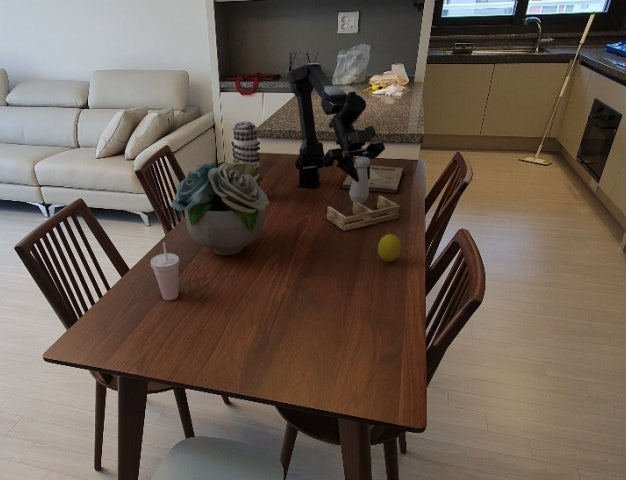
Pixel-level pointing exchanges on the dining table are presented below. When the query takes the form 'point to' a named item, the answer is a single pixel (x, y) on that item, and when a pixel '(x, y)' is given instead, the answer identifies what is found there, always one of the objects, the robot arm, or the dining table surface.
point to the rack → (364, 214)
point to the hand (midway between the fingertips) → (363, 180)
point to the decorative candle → (246, 145)
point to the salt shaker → (360, 181)
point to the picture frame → (380, 179)
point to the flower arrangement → (222, 205)
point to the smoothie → (166, 273)
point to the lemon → (389, 247)
